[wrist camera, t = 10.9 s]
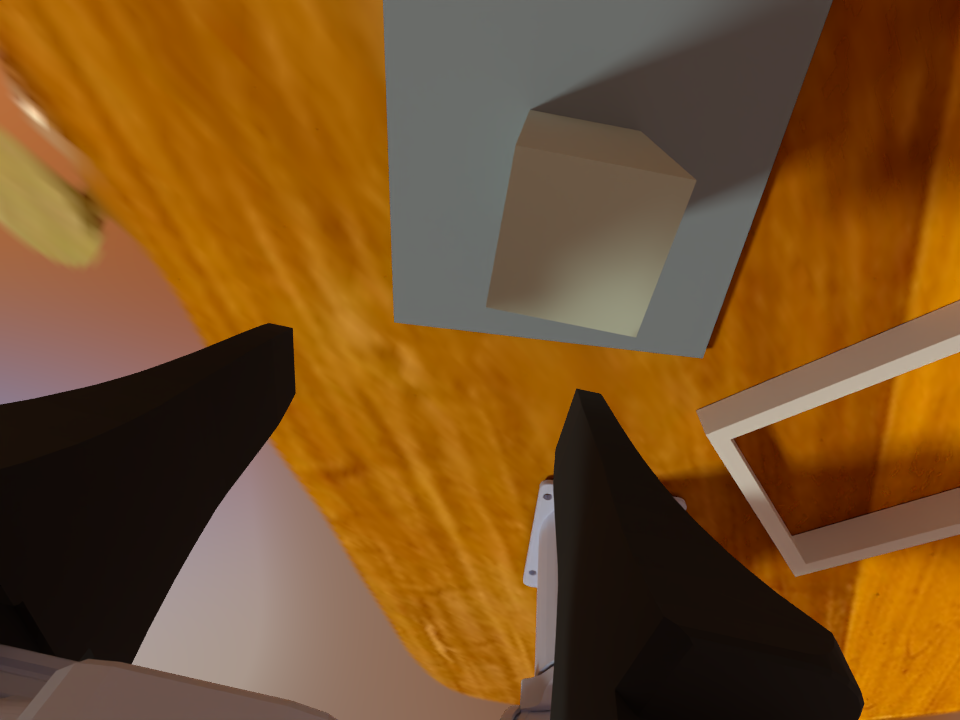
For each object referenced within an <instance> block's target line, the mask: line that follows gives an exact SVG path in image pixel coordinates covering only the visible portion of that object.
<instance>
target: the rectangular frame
mask: <svg viewBox="0 0 960 720" xmlns="http://www.w3.org/2000/svg"><path fill="white" fill-rule="evenodd" d="M958 352H960V300H959V301H957V302H955V303H952V304H950V305H947V306H945V307H943V308H940V309H938V310H936V311H933V312H931V313H928V314H926V315H924V316H921V317H919V318H916V319H914V320H912V321H909V322H907V323H904V324H902V325H900V326H897V327H895V328H893V329H890V330H888V331H885V332H883V333H881V334H878V335H876V336H873V337H871V338H869V339H866V340H864V341H861V342H859V343H857V344H854V345H852V346H849V347H847V348H845V349H842V350H840V351H838V352H835V353H833V354H830V355H828V356H826V357H823V358H821V359H818V360H816V361H814V362H811V363H809V364H806V365H804V366H802V367H799V368H797V369H794V370H792V371H790V372H787V373H785V374H783V375H780V376H778V377H775V378H773V379H771V380H768V381H766V382H763V383H761V384H759V385H756V386H754V387H751V388H749V389H747V390H744V391H742V392H740V393H737V394H735V395H732V396H730V397H728V398H725V399H723V400H720V401H718V402H716V403H713V404H711V405H708V406H706V407H704V408H701V409H699V410H696V411H697V414H698V416H699V419H700V421H701V424H702V426H703V429H704V431H705V434H706V436H707V437H708V439H709V440H710V442H711V444H712V445H713V447H714V448H715V450H716V452H717V453H718V455H719V456H720V458H721V460H722V461H723V463H724V464H725V466H726V467H727V469H728V471H729V472H730V474H731V475H732V477H733V479H734V480H735V482H736V483H737V485H738V486H739V488H740V490H741V491H742V493H743V494H744V496H745V498H746V499H747V501H748V502H749V504H750V506H751V507H752V509H753V510H754V512H755V513H756V515H757V517H758V518H759V520H760V521H761V523H762V525H763V526H764V528H765V529H766V531H767V533H768V534H769V536H770V537H771V539H772V540H773V542H774V544H775V545H776V547H777V548H778V550H779V552H780V553H781V555H782V556H783V558H784V559H785V561H786V563H787V564H788V566H789V567H790V569H791V571H792V572H793V574H794V575H795V577H796V576H800V575H804V574H808V573H812V572H816V571H819V570H823V569H827V568H831V567H835V566H839V565H843V564H847V563H850V562H854V561H858V560H862V559H866V558H870V557H874V556H878V555H881V554H885V553H889V552H893V551H897V550H901V549H905V548H909V547H912V546H916V545H920V544H924V543H928V542H932V541H936V540H940V539H943V538H947V537H951V536H955V535H959V534H960V488H956V489H953V490H949V491H946V492H942V493H939V494H936V495H932V496H929V497H925V498H922V499H918V500H915V501H911V502H908V503H905V504H901V505H898V506H894V507H891V508H887V509H884V510H880V511H877V512H874V513H870V514H867V515H863V516H860V517H856V518H853V519H849V520H846V521H842V522H839V523H836V524H832V525H829V526H825V527H822V528H818V529H815V530H811V531H808V532H805V533H801V534H798V535H794V536H792V535H791V534H790V532H789V530H788V529H787V527H786V525H785V524H784V522H783V520H782V519H781V517H780V515H779V514H778V512H777V510H776V509H775V507H774V505H773V504H772V502H771V500H770V499H769V497H768V495H767V494H766V492H765V490H764V489H763V487H762V485H761V484H760V482H759V480H758V479H757V477H756V475H755V474H754V472H753V471H752V469H751V467H750V466H749V464H748V462H747V461H746V459H745V457H744V456H743V454H742V452H741V451H740V449H739V447H738V446H737V444H736V442H735V441H734V439H733V438H736V437H738V436H741V435H744V434H746V433H749V432H752V431H754V430H757V429H759V428H762V427H765V426H767V425H770V424H772V423H775V422H778V421H780V420H783V419H785V418H788V417H791V416H793V415H796V414H799V413H801V412H804V411H806V410H809V409H812V408H814V407H817V406H819V405H822V404H825V403H827V402H830V401H832V400H835V399H838V398H840V397H843V396H845V395H848V394H851V393H853V392H856V391H859V390H861V389H864V388H866V387H869V386H872V385H874V384H877V383H879V382H882V381H885V380H887V379H890V378H892V377H895V376H898V375H900V374H903V373H906V372H908V371H911V370H913V369H916V368H919V367H921V366H924V365H926V364H929V363H932V362H934V361H937V360H939V359H942V358H945V357H947V356H950V355H952V354H955V353H958Z"/></svg>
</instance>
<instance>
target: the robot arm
mask: <svg viewBox="0 0 960 720" xmlns="http://www.w3.org/2000/svg"><path fill="white" fill-rule="evenodd" d="M294 395H295V370H294V348H293V328H290V327H285V326H280V325H276V324H271V323H268V324H264V325H261V326H258V327H256V328H253V329H251V330H248V331H245V332H243V333H241V334H238V335H236V336H233V337H231V338H228V339H226V340H223V341H221V342H219V343H216V344H214V345H211V346H209V347H206V348H204V349H201V350H199V351H196V352H194V353H191V354H189V355H186V356H183V357H180V358H178V359H175V360H172V361H170V362H167V363H164V364H161V365H159V366H155V367H153V368H150V369H147V370H144V371H141V372H138V373H135V374H132V375H128V376H125V377H121V378H118V379H114V380H111V381H107V382H104V383H100V384H97V385H92V386H88V387H85V388H80V389H75V390H71V391H66V392H62V393H58V394H53V395H48V396H44V397H39V398H35V399H29V400H24V401H18V402H13V403H7V404H1V405H0V720H337V719H336V718H334V717H333V716H331V715H330V714H328V713H326V712H323V711H320V710H317V709H314V708H311V707H309V706H306V705H303V704H300V703H297V702H294V701H291V700H286V699H282V698H278V697H273V696H269V695H264V694H260V693H255V692H251V691H247V690H242V689H238V688H233V687H229V686H225V685H220V684H216V683H211V682H207V681H202V680H198V679H194V678H189V677H185V676H180V675H176V674H172V673H167V672H162V671H158V670H154V669H149V668H145V667H141V666H136V665H132V662H133V660H134V658H135V656H136V654H137V652H138V650H139V648H140V645H141V644H142V642H143V640H144V637H145V636H146V634H147V631H148V629H149V627H150V626H151V624H152V622H153V620H154V618H155V616H156V614H157V612H158V610H159V608H160V606H161V605H162V603H163V601H164V599H165V597H166V595H167V593H168V591H169V589H170V588H171V586H172V584H173V582H174V580H175V578H176V577H177V575H178V573H179V571H180V569H181V568H182V566H183V564H184V562H185V561H186V559H187V557H188V556H189V554H190V552H191V550H192V548H193V547H194V545H195V543H196V542H197V540H198V538H199V536H200V535H201V533H202V532H203V530H204V528H205V526H206V525H207V523H208V522H209V520H210V518H211V516H212V515H213V513H214V512H215V510H216V508H217V507H218V505H219V504H220V503H221V501H222V500H223V498H224V497H225V495H226V494H227V493H228V491H229V490H230V489H231V487H232V486H233V485H234V483H235V482H236V481H237V479H238V478H239V477H240V476H241V474H242V473H243V472H244V470H245V469H246V468H247V466H248V465H249V464H250V462H251V461H252V460H253V458H254V457H255V456H256V454H257V453H258V452H259V450H260V449H261V448H262V447H263V445H264V444H265V443H266V441H267V440H268V438H269V437H270V436H271V434H272V433H273V432H274V430H275V429H276V428H277V426H278V425H279V423H280V421H281V419H282V418H283V416H284V414H285V412H286V411H287V409H288V407H289V405H290V403H291V401H292V399H293V397H294ZM546 494H550V495H546ZM686 509H687V506H686V502H685V500H684V499H682V498H679V497H673V496H672V495H671V494H670V493H669V491H668V490H667V489H666V488H665V487H664V486H663V484H662V483H661V482H660V481H659V479H658V478H657V477H656V475H655V474H654V473H653V471H652V470H651V469H650V468H649V466H648V465H647V464H646V462H645V461H644V460H643V458H642V457H641V455H640V454H639V453H638V451H637V450H636V448H635V447H634V445H633V444H632V442H631V441H630V439H629V438H628V436H627V435H626V433H625V432H624V430H623V429H622V427H621V426H620V424H619V422H618V421H617V419H616V417H615V416H614V414H613V413H612V411H611V409H610V408H609V406H608V405H607V403H606V401H605V400H604V398H603V396H602V395H601V394H599V393H594V392H590V391H585V390H580V389H576V391H575V394H574V397H573V400H572V403H571V406H570V409H569V412H568V415H567V418H566V421H565V424H564V426H563V429H562V432H561V435H560V438H559V441H558V444H557V447H556V451H555V463H554V478H553V480H544V481H543V482H541V484H540V488H539V494H538V499H537V505H536V510H535V516H534V521H533V526H532V532H531V537H530V543H529V548H528V554H527V559H526V565H525V570H524V576H523V582H524V584H525V585H527V586H531V587H537V615H536V651H535V677H532V678H526V679H523V680H522V681H521V701H520V705H514V706H510V707H509V708H508V709H507V710H505V712H504V714H503V715H502V717H501V719H500V720H858V719H859V717H860V715H861V712H862V709H863V706H864V701H863V697H862V693H861V690H860V688H859V686H858V684H857V682H856V680H855V678H854V676H853V674H852V672H851V670H850V668H849V666H848V664H847V662H846V660H845V658H844V656H843V653H842V651H841V649H840V647H839V645H838V643H837V641H836V640H835V638H834V636H833V634H832V633H831V632H830V631H828V630H827V629H826V628H824V627H823V626H822V625H820V624H819V623H817V622H816V621H815V620H813V619H812V618H811V617H809V616H808V615H806V614H805V613H804V612H802V611H801V610H799V609H798V608H797V607H795V606H794V605H793V604H791V603H790V602H788V601H787V600H786V599H784V598H783V597H782V596H780V595H779V594H778V593H776V592H775V591H774V590H772V589H771V588H770V587H769V586H768V585H766V584H765V583H764V582H763V581H761V580H760V579H759V578H758V577H757V576H755V575H754V574H753V573H752V572H750V571H749V570H748V569H747V568H745V567H744V566H743V565H742V564H741V563H740V562H739V561H737V560H736V559H735V558H734V557H733V556H732V555H731V554H729V553H728V552H727V551H726V550H725V549H724V548H723V547H722V546H721V545H720V544H719V543H718V542H717V541H715V540H714V539H713V538H712V537H711V536H710V535H709V534H708V533H707V532H706V531H705V530H704V529H703V528H702V527H701V526H700V525H699V524H698V523H697V522H696V521H695V520H694V519H693V518H692V517H691V516H690V515H689V514H688V513H687V512H686Z"/></svg>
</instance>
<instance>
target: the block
mask: <svg viewBox="0 0 960 720" xmlns="http://www.w3.org/2000/svg"><path fill="white" fill-rule="evenodd" d="M696 181H697V180H696V179H695V178H693V177H692V176H691V175H690V174H689V173H688V172H687V171H686V170H684V169H683V168H682V167H681V166H680V165H679V164H678V163H676V162H675V161H674V160H673V159H672V158H671V157H670V156H669V155H667V154H666V153H665V152H664V151H663V150H662V149H661V148H659V147H658V146H657V145H656V144H655V143H654V142H653V141H651V140H650V139H649V138H648V137H647V136H646V135H645V134H644V133H642V132H641V131H638V130H633V129H627V128H622V127H617V126H612V125H607V124H601V123H596V122H591V121H586V120H581V119H576V118H570V117H565V116H560V115H555V114H550V113H544V112H539V111H534V110H530V111H529V113H528V115H527V118H526V120H525V123H524V125H523V128H522V130H521V133H520V135H519V138H518V140H517V143H516V146H515V151H514V157H513V162H512V167H511V173H510V178H509V184H508V189H507V194H506V200H505V205H504V211H503V216H502V222H501V227H500V232H499V238H498V243H497V249H496V254H495V259H494V265H493V270H492V276H491V281H490V286H489V292H488V297H487V303H486V307H487V308H492V309H497V310H502V311H507V312H512V313H517V314H522V315H527V316H532V317H537V318H542V319H546V320H551V321H556V322H561V323H566V324H571V325H576V326H581V327H586V328H591V329H596V330H601V331H606V332H611V333H616V334H621V335H626V336H631V337H636V336H637V334H638V331H639V328H640V326H641V323H642V321H643V318H644V315H645V313H646V310H647V308H648V305H649V303H650V300H651V297H652V295H653V292H654V290H655V287H656V284H657V282H658V279H659V277H660V274H661V271H662V269H663V266H664V264H665V261H666V259H667V256H668V253H669V251H670V248H671V246H672V243H673V240H674V238H675V235H676V233H677V230H678V227H679V225H680V222H681V220H682V217H683V215H684V212H685V209H686V207H687V204H688V202H689V199H690V196H691V194H692V191H693V189H694V186H695V183H696Z"/></svg>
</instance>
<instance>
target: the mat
mask: <svg viewBox="0 0 960 720" xmlns="http://www.w3.org/2000/svg"><path fill="white" fill-rule="evenodd" d="M832 1H833V0H383V12H384V41H385V70H386V99H387V128H388V157H389V186H390V215H391V244H392V273H393V301H394V322H396V323H405V324H414V325H422V326H431V327H439V328H448V329H456V330H465V331H473V332H482V333H490V334H499V335H508V336H516V337H525V338H533V339H542V340H550V341H559V342H567V343H576V344H584V345H593V346H602V347H610V348H619V349H627V350H636V351H644V352H653V353H661V354H670V355H678V356H687V357H696V358H703V356H704V353H705V350H706V348H707V345H708V342H709V339H710V337H711V334H712V331H713V328H714V326H715V323H716V320H717V317H718V315H719V312H720V309H721V306H722V304H723V301H724V298H725V295H726V293H727V290H728V287H729V284H730V282H731V279H732V276H733V273H734V271H735V268H736V265H737V262H738V260H739V257H740V254H741V251H742V249H743V246H744V243H745V240H746V238H747V235H748V232H749V229H750V227H751V224H752V221H753V218H754V216H755V213H756V210H757V207H758V205H759V202H760V199H761V196H762V194H763V191H764V188H765V185H766V183H767V180H768V177H769V174H770V172H771V169H772V166H773V163H774V161H775V158H776V155H777V152H778V150H779V147H780V144H781V141H782V139H783V136H784V133H785V130H786V128H787V125H788V122H789V119H790V117H791V114H792V111H793V108H794V106H795V103H796V100H797V97H798V95H799V92H800V89H801V86H802V84H803V81H804V78H805V75H806V73H807V70H808V67H809V64H810V62H811V59H812V56H813V53H814V51H815V48H816V45H817V42H818V40H819V37H820V34H821V31H822V29H823V26H824V23H825V20H826V18H827V15H828V12H829V9H830V7H831V4H832ZM530 110H534V111H539V112H544V113H550V114H555V115H560V116H565V117H570V118H576V119H581V120H586V121H591V122H596V123H601V124H607V125H612V126H617V127H622V128H627V129H633V130H638V131H641V132H642V133H644V134H645V135H646V136H647V137H648V138H649V139H650V140H651V141H653V142H654V143H655V144H656V145H657V146H658V147H659V148H661V149H662V150H663V151H664V152H665V153H666V154H667V155H669V156H670V157H671V158H672V159H673V160H674V161H675V162H676V163H678V164H679V165H680V166H681V167H682V168H683V169H684V170H686V171H687V172H688V173H689V174H690V175H691V176H692V177H693V178H695V179H696V180H697V181H696V183H695V186H694V189H693V191H692V194H691V196H690V199H689V202H688V204H687V207H686V209H685V212H684V215H683V217H682V220H681V222H680V225H679V227H678V230H677V233H676V235H675V238H674V240H673V243H672V246H671V248H670V251H669V253H668V256H667V259H666V261H665V264H664V266H663V269H662V271H661V274H660V277H659V279H658V282H657V284H656V287H655V290H654V292H653V295H652V297H651V300H650V303H649V305H648V308H647V310H646V313H645V315H644V318H643V321H642V323H641V326H640V328H639V331H638V334H637V336H636V337H631V336H626V335H621V334H616V333H611V332H606V331H601V330H596V329H591V328H586V327H581V326H576V325H571V324H566V323H561V322H556V321H551V320H546V319H542V318H537V317H532V316H527V315H522V314H517V313H512V312H507V311H502V310H497V309H492V308H487V307H486V303H487V297H488V292H489V286H490V281H491V276H492V270H493V265H494V259H495V254H496V249H497V243H498V238H499V232H500V227H501V222H502V216H503V211H504V205H505V200H506V194H507V189H508V184H509V178H510V173H511V167H512V162H513V157H514V151H515V146H516V143H517V140H518V138H519V135H520V133H521V130H522V128H523V125H524V123H525V120H526V118H527V115H528V113H529V111H530Z"/></svg>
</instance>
